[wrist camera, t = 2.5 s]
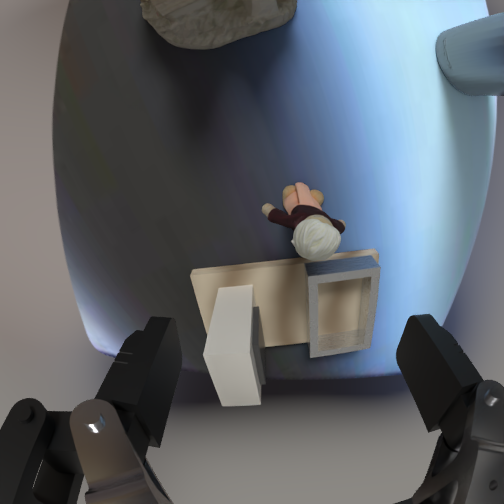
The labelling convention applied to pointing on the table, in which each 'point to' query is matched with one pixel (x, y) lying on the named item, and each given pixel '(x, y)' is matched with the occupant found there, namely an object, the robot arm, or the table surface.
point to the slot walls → (369, 294)
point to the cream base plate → (285, 296)
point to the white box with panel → (236, 347)
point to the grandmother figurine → (307, 222)
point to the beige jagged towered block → (214, 19)
